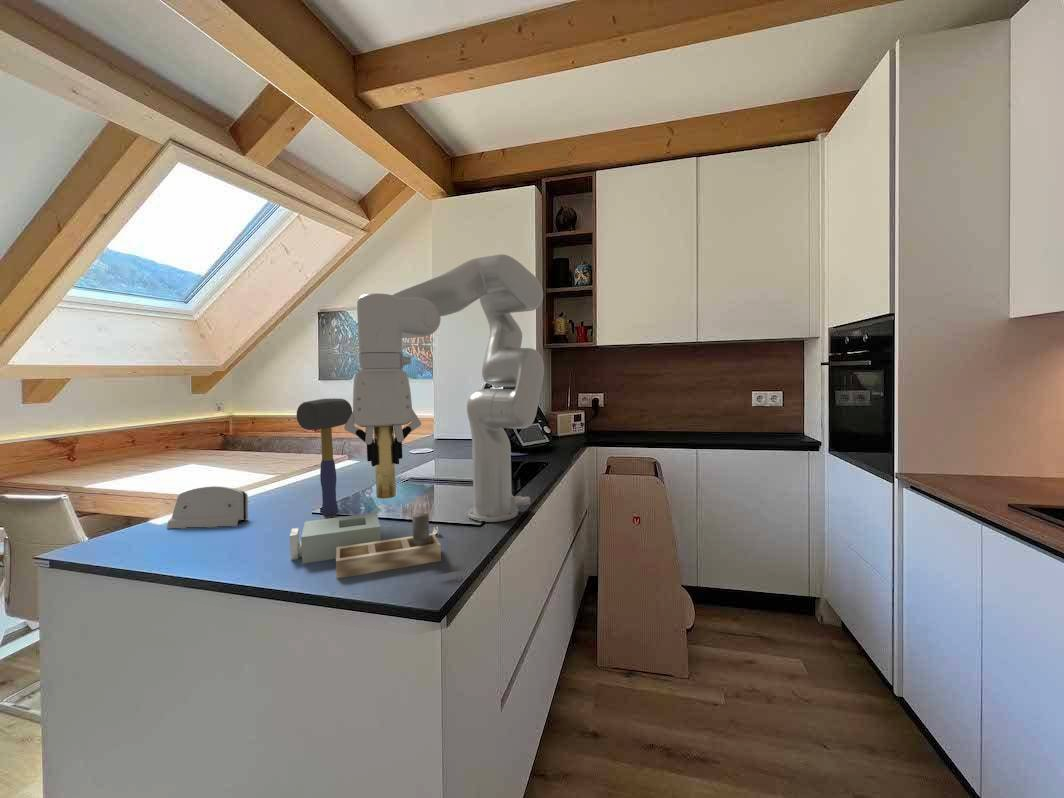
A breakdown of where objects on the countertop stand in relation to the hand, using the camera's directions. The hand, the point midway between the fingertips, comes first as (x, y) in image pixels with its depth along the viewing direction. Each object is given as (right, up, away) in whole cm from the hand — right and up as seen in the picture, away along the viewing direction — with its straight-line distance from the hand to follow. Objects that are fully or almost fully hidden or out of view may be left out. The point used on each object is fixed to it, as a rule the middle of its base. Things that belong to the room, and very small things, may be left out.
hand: (385, 462), depth 86 cm
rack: (0, -20, +1) cm, 20 cm away
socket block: (-11, -19, +8) cm, 24 cm away
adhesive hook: (+5, -19, +15) cm, 25 cm away
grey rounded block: (-52, -19, +30) cm, 63 cm away
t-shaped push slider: (-16, -19, +7) cm, 26 cm away
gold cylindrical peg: (0, -6, 0) cm, 6 cm away
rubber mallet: (-24, -18, +32) cm, 44 cm away
